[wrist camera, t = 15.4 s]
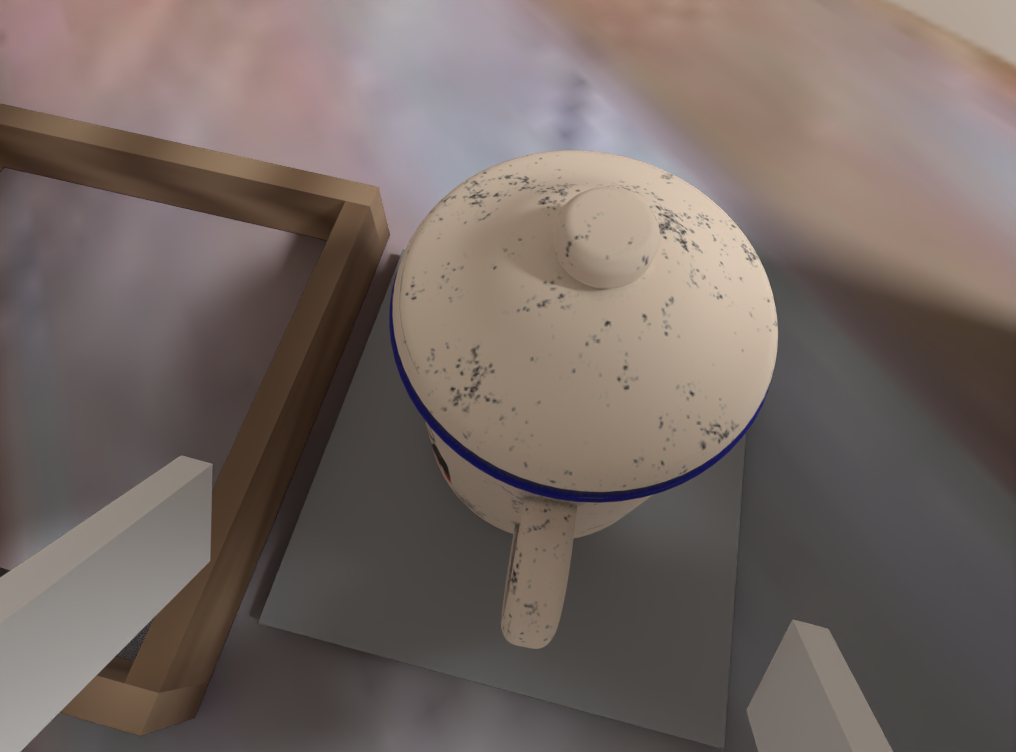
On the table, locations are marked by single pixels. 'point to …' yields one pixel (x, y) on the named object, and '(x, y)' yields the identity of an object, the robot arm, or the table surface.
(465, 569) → the rubber mat
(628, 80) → the table surface
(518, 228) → the teacup with lid
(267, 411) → the wooden frame
